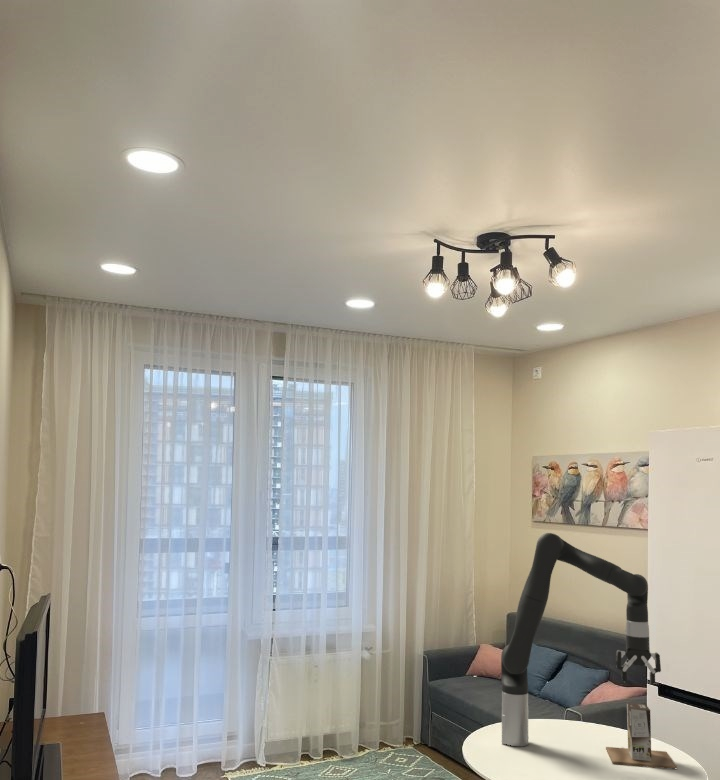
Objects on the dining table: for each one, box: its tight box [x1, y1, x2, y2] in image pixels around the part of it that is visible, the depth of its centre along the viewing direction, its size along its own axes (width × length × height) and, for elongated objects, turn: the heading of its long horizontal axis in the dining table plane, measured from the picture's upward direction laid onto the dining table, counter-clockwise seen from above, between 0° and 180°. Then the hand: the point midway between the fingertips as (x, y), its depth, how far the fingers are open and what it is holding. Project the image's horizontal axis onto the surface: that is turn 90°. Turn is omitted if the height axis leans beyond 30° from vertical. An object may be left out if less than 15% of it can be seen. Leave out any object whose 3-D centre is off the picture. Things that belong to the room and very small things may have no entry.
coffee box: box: [626, 702, 652, 761], centre depth 254 cm, size 9×6×16 cm
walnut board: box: [605, 746, 678, 769], centre depth 253 cm, size 20×15×1 cm
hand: (638, 683), depth 256 cm, fingers open, 8 cm apart
